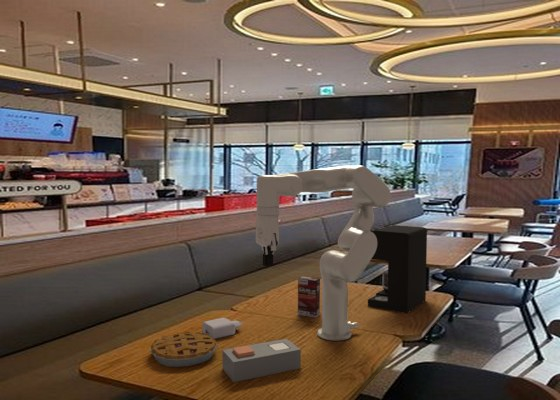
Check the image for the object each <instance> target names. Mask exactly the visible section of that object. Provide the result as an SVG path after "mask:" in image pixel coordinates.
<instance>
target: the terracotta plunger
mask: <svg viewBox="0 0 560 400" xmlns="http://www.w3.org/2000/svg"><path fill="white" fill-rule="evenodd" d="M233 353H234V354H235V355H236V356H237V358H241V357H246V356H252V355H254V350H253V349H252V348H250V347H249V346H248V345H243V346H236V347H233Z"/></svg>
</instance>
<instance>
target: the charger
mask: <svg viewBox="0 0 560 400" xmlns="http://www.w3.org/2000/svg"><path fill="white" fill-rule="evenodd" d="M244 323H245V322H242V321H239V320H230V319H228V318H226V317H220V318H215V319H211V320H207V321H202V323H201V331H202V334H207V335H209V336H210V337H213V338H214V339H215V340H217V339H220V338H225V337H229V336H233V335H235V334H236V329H239V328H241V327H242V325H244Z"/></svg>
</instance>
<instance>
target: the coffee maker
mask: <svg viewBox="0 0 560 400" xmlns="http://www.w3.org/2000/svg"><path fill="white" fill-rule="evenodd" d="M370 231H371V232H372V233H374V235H375V236H376V238H377V249H376V252H375V254H374V255H373V257H372V259H371V260H375V261H383V262H387V263H388V264H387V269H386V270H383V272H382V283H381V287H382V290H380V291H378V292H376V293H375V295H373V296H372V297H369V298H368V299H367V307H370V306H371V308H375V307H376V309H381V308H382V309H381V310H386V309H387V310H388V311H391V310H392V312H397V311H398V312H397V313H402V312H404V313H403V314H408V312H409V311H410V312H411V310H412V309H413V310H414V309H416V308H417V307H419V306H420V305H422V304H423V303H424V302H426V301H425V300H426V298H427V249H428V243H427V242H428V229H427V228H426V227H422V226H421V227H420V226H407V225H397V224H395V225H394V224H392V225H384V226H383V227H380V228H379V227H378V228H377V227H375V228H373V229H372V230H370ZM423 301H424V302H423ZM422 302H423V303H422ZM421 303H422V304H421ZM419 304H420V305H419ZM418 305H419V306H418ZM416 306H417V307H416ZM415 307H416V308H415ZM413 310H412V311H413ZM410 312H409V313H410Z"/></svg>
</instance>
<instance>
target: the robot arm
mask: <svg viewBox="0 0 560 400" xmlns="http://www.w3.org/2000/svg"><path fill="white" fill-rule="evenodd" d="M348 189H353V190H352V192H351V199H352V202H353V213H352V216H351V218H350V219H349V221H348V223H347V224H346V225H345V227H344V228H343V230H342V232H341V233H340V235H339V237H338V238H337V246H338V247H339V248H340V249H341V250H342V251H343V252H342V251H338V250H336V249H335V250H334V249H333V250H328V251H325V252H324V253H323V254H322V255H321V257H320V259H319V271H320V276H321V278H320V279H321V328H319V329H318V330H317V335H318V337H319V338H321V339H323V340H327V341H332V342H333V341H345V340H349V339H351V337H352V335H353V334H352V333H353V332H352V331H351V330H352V329H355V328H359V322H351V321H348V316H349V315H348V313H349V312H348V308H349V307H348V306H349V305H348V303H349V301H348V296H349V291H348V290H349V289H348V288H349V287H348V282H350V283H351V282H355V281H356V280H358V279H359V278H360V277H361V275H362V274H363V273H364V271H365V270H366V268H367V266H368V265H369V263H370V262H371V260H372V257H373V255H374V254H375V252H376V249H377V238H376V236H375V235H374V233H372V232H371V229H372V228H373V225H374V224H375V213H374V208H384V207H386V206H387V205H388V204H389V203H390V201H391V198H392V194H391V190H390V189H389V187H388V185H387V184H386V183H385V182H384V181H383V180H382V179H380V178H379V176H378V175H377V174H376V173H374V172H373V171H372V170H371V169H369V168H368V167H367V166H365V165H361V164H360V165H359V164H358V165H342V166H341V165H340V166H332V167H325V168H324V167H323V168H318V169H315V168H314V169H309V170H301V171H294V172H286V173H278V174H275V175H273V174H263V175H258V176H257V178H256V222H255V243H256V244H257V245H259V246H260V247H261V253H262V266H263V267H273V266H274V254H275V251H277V246H279V244H280V223H279V222H280V221H279V217H280V197H281V196H283V197H291V198H292V197H295V196H298V195H299V194H301V193H315V194H316V193H317V194H319V193H326V192H333V191H338V190H339V191H340V190H341V191H342V190H348Z"/></svg>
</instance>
